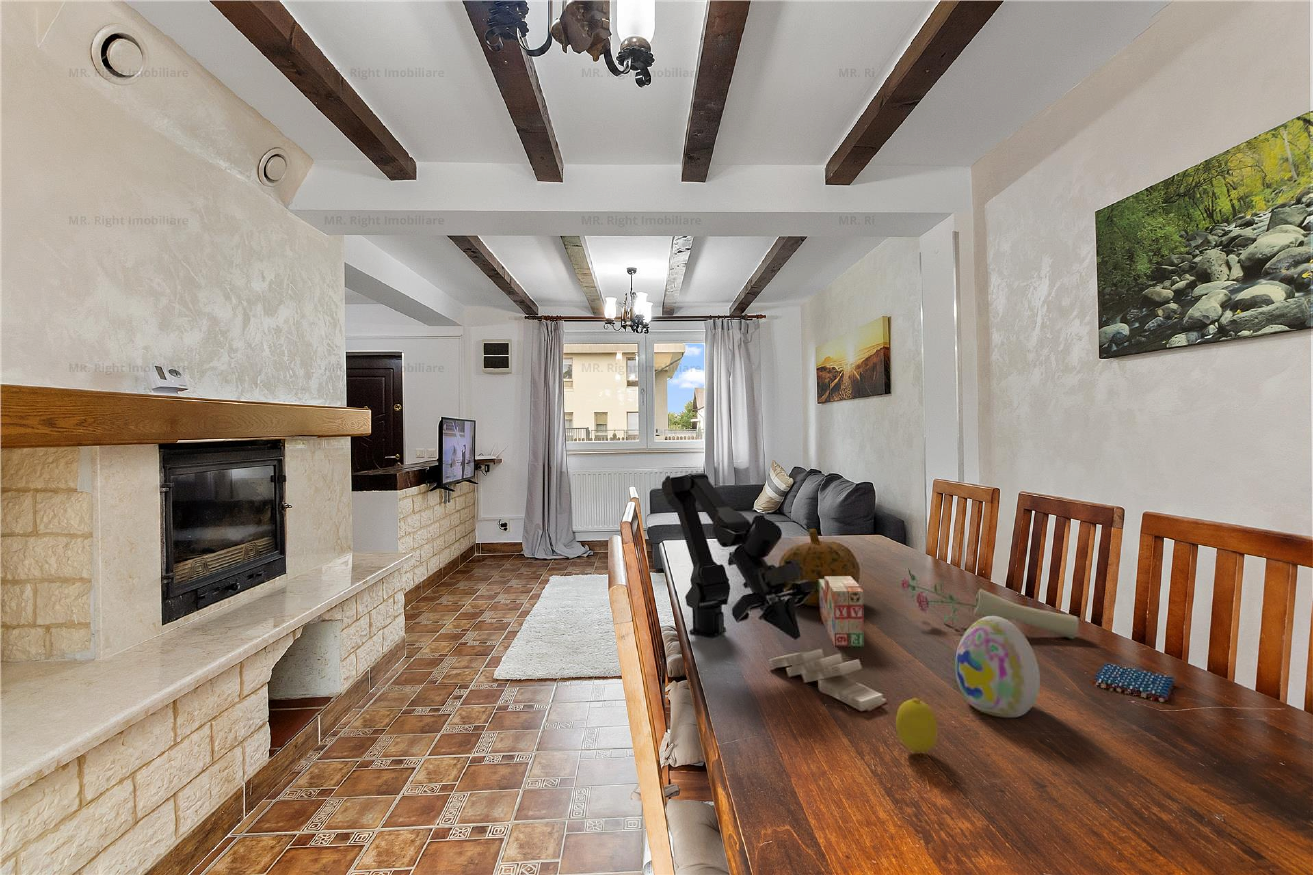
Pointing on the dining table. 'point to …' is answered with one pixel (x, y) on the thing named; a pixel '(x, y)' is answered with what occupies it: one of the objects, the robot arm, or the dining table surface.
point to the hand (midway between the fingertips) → (798, 638)
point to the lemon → (916, 725)
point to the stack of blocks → (842, 609)
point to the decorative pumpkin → (821, 563)
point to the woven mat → (1134, 682)
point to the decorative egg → (997, 668)
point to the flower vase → (1004, 610)
